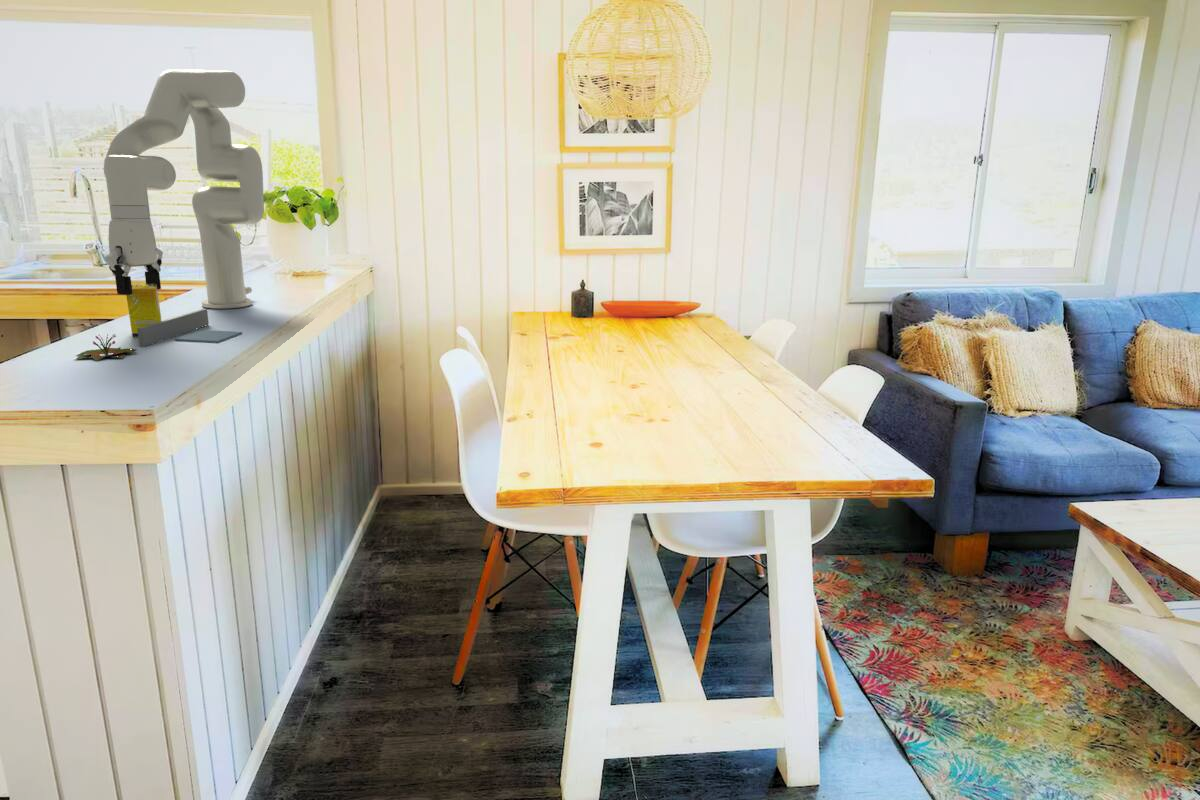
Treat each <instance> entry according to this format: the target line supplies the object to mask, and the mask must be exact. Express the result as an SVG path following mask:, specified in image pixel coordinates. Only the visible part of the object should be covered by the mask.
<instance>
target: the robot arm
mask: <svg viewBox="0 0 1200 800" xmlns="http://www.w3.org/2000/svg"><path fill="white" fill-rule="evenodd" d="M245 98H246V86H245V84H244V81H243V79H242V78H241V77H240V75H239V74H237V73H236V72H234V71H231V70H206V69H167V70H165V71H162V73H160V74H159V76H158V77H157V80H156V83H155V85H154V88H153V90H152V93H151V96H150V99H149V101H148V104H147V106H146V108H145V111H144V114H143V115H142V116H141V117H139V118H137V119H135V121H132V122H131V123H130V124H128V125H127V126H126V127H125V128H123V129H122V130H121V131H119V132H118V133H117V134H116V136H115V137H113V139H112V141H111V143H110V145H109V148H108V150H107V152H106V155H105V158H104V161H103V175H104V178H105V180H106V189H107V195H108V196H107V197H108V203H109V204H108V205H109V211H110V212H109V213H110V219H111V220H109V222H108V223H109V224H108V251H109V252H108V253H109V254H107V256H105V261H106V263H107V265H108V268H109V270H110V272H112V276H113V277H115V278H114V279H115V286H116V293H117V295H122V296H123V295H132V285H133V284H132V278H131V276H129V274H130V271H131V268H134V267H135V268H136V267H137V268H138V267H143V268H144V269H145V270H146V271H144V277H145V284H157V291H158V290H161V289H162V286H161V275H160V272H161V265H162V260H163V259H162V258H163V254H164V253H163V251H162V250H161V249H159V248H158V247H157V242H156V241H157V240H156V236H155V231H154V227H153V223H152V220H151V213H150V212H151V211H150V203H149V194H148V191H164V190H168V189H170V188H171V187H172V186H173V185H174V184H175V182H176V179H177V178H176V177H177V174H176V170H175V167H174V165H173V164H172V163H171V161H169V160H168V159H166V158H164V157H163V156H162V157H161V156H156V155H141V154H142V153H144V152H146V151H148V150H150V149H152V148H156V147H158V146H162V145H165V144H167V143H170V142H172V141H176V140H177V139H179V138H180V137H181V136H182V135H183V134H184V131H185V127H186V125H187V122H188V119H189V117H190V118H191V120H192V122H193V125H194V126H193V127H194V137H195V152H196V155H195V156H196V166H197V171H198V174H199V176H200V177H201V178H203V179H204V180H207V181H210V182H226V183H227V182H228V183H230V182H232V183H239V186H238V187H236V186H235V187H234V186H214V185H213V186H204V187H200V188H199V189H197V190H196V191H194V193H193V196H192V200H191V203H192V209H193V213H194V215H195V219H196V221H197V225H198V230H199V235H200V237H199V238H200V243H201V244H200V245H201V252H202V253H201V254H202V262H203V270H204V279H205V280H204V281H205V286H206V295H207V299H204V300H203V301H201V306H202V307H203V308H205V309H215V310H216V309H220V310H221V309H223V310H224V309H235V308H236V309H238V308H245V307H248V306H251V305H252V304H253V300H252V299H251V298H248V297H247V294H248V295H249V294H251V293H252V291H253V290H252V287H250V286H245V278H244V269H243V260H242V259H243V258H242V250H241V241H240V237H239V235H238V233H237V232H236V231H235V230H234V228H233V227H232V226H231V225H235V224H236V225H255V224H258V223H260V222H261V221H262V220H263V217H264V211H265V201H264V200H265V198H264V194H265V193H264V174H263V173H264V171H263V165H262V164H263V162H262V160H261V157H260V154H259V152H258V151H257V150H256V148H254V147H253V146H250V145H249V144H247V145H246V144H235V143H234V144H233V143H232V135H231V134H232V133H231V131H232V130H231V125H230V122H229V120H228V119H227V117H226V116H225V115H224V114H223V112H222V111H221V110H220V109H227V108H228V109H229V108H236V107H239V106H241V105H242V103H243V102H244V100H245Z"/></svg>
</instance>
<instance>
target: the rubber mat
mask: <svg viewBox="0 0 1200 800" xmlns="http://www.w3.org/2000/svg"><path fill="white" fill-rule="evenodd" d="M239 334H240V335H242V334H243V331H229V330H228V331H227V330H210V329H200V330H196V331H194V332H191V333H188V334H185V335H181V336H180V337H176V338H174V341H175V340H180V341H179V342H193V341H200V342H199V343H212V342H216V344H218V343H221V342H223V340H224V341H226V340H229V339H232V338H234V337H237V336H239ZM236 335H237V336H236ZM231 337H232V338H231ZM228 338H229V339H228Z"/></svg>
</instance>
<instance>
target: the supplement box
mask: <svg viewBox="0 0 1200 800" xmlns="http://www.w3.org/2000/svg"><path fill="white" fill-rule="evenodd" d="M131 285H132V295H126V302H127V308H128V317H129V322H130V329H131V335H132V337H133V336H138V331H137V328H140V327H143V326H147V325H150V324H153V323H157V322H160V321H162V314H161V307H160V301H159V300H160V299H159V291H158V290H157V284H146V283H142V284H131Z"/></svg>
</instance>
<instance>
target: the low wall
mask: <svg viewBox="0 0 1200 800" xmlns="http://www.w3.org/2000/svg"><path fill="white" fill-rule="evenodd" d="M208 324H209V316H208V308H201V309H198V310H195V311H191V312H187V313H185V314H182V315H177V316H175V317H171V318H168V319H167V318H166V319H165V320H161V321H160V322H157V323H153V324H150V325H147V326H143V327H140V328H137V331H138V337H137V338H138V344H139V347H140V346H145V347H147V346H146V345H148V346H150V345H149V344H151V345H153V344H152V343H154V344H157V343H159V342H158V341H160V342H162V341H161V340H163V341H165V339H166V340H169V339H172V338H175V337H177V336H176V335H178V336H180V334H181V335H184V334H187V333H190V332H192V331H191V330H193V331H195V330H194V329H196V328H199V327H202V326H205V325H208ZM208 326H209V325H208ZM205 327H206V326H205ZM202 328H203V327H202ZM199 329H200V328H199ZM196 330H197V329H196ZM189 331H190V332H189ZM186 332H187V333H186ZM183 333H184V334H183ZM174 336H175V337H174ZM171 337H172V338H171ZM168 338H169V339H168ZM156 342H157V343H156Z"/></svg>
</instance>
